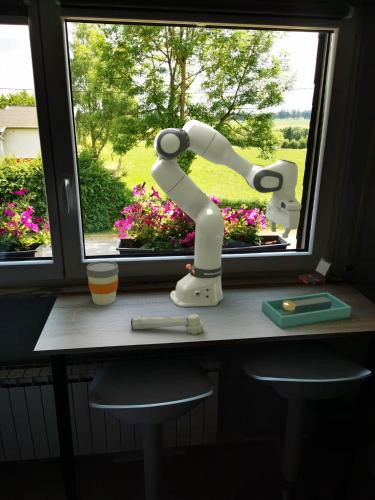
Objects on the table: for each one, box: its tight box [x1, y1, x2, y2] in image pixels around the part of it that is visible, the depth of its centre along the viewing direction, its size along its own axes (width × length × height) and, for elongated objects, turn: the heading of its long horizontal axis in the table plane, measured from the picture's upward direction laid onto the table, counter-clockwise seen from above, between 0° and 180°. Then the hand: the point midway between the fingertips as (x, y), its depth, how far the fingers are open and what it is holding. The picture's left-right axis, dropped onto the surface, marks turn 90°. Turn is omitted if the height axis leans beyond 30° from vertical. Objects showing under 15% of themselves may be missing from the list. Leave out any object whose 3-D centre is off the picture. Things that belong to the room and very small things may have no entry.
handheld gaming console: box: [297, 257, 334, 286], centre depth 174 cm, size 9×12×10 cm
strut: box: [282, 297, 332, 316], centre depth 141 cm, size 20×5×5 cm, turn 108°
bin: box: [261, 291, 352, 330], centre depth 141 cm, size 30×14×4 cm, turn 108°
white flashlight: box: [130, 313, 204, 335], centre depth 129 cm, size 5×7×25 cm
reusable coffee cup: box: [86, 260, 120, 306], centre depth 149 cm, size 13×12×15 cm
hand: (279, 234), depth 151 cm, fingers open, 8 cm apart
